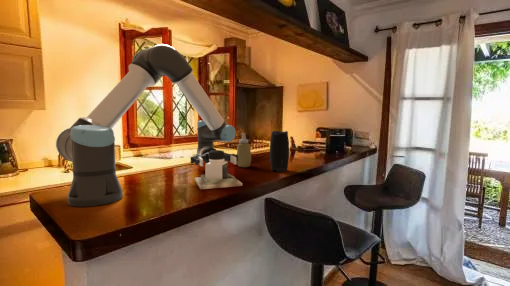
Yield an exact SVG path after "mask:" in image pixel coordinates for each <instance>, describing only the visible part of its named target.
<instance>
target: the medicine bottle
mask: <svg viewBox="0 0 510 286" xmlns="http://www.w3.org/2000/svg"><path fill="white" fill-rule="evenodd" d="M224 153H225V151H224V150H221V149H216V150H213V151H210V152H209V161H210V162H209V163H204V164H205V165H204V166H205V169H204V171H205V174H204V175H206V180H217V179H228V173H229V161H224Z"/></svg>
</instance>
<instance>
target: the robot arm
mask: <svg viewBox="0 0 510 286" xmlns="http://www.w3.org/2000/svg"><path fill="white" fill-rule="evenodd" d="M193 71H194V69H193V68H192V66H191V65H190V63H189V62H188V60H187V59H186V58H185V57H184V56H183V54H182V53H180V52H179V51H178V50H177V49H176V48H174V47H173V46H170V45H169V44H164V43H161V44H156V45H154V46H152V47H148V48H143V49H141V50H139V51H138V52H136V53H135V54H134V56H133V57H132V61H131V62H130V64H128V72H127V73H126V74H125V76H124V77H122V79H121V80H120V81H118V83H117V84H116V85H115V86H114V87H113V88H112V89H111V91H110V92H108V93H107V95H106V96H105V97H104V98H103V99H102V100H101V101H100V102H99V103H98V104H97V105H96V107H95V108H93V110H92V111H91V112H90V113H89V114H88V115H87V116H84V117H78V119H77V120H76V121H75V122H74V123H73V124H72V125H71V126H70V127H69V128H66V129H64V130H63V131H61V132H60V133H59V135H58V136H57V138H56V140H55V141H56V142H55V147H56V150H57V152H58V154H59V155H60V156H61V158H64V159H65V160H67V161H68V162H71V164H72V165H71V166H72V181H71V184H70V187H69V190H68V193H67V204H68V205H69V206H71V207H76V208H77V207H78V208H79V207H80V208H82V207H85V208H86V207H87V208H88V207H96V206H102V205H107V204H108V205H109V204H111V203H114V202H118V201H119V200H122V199H123V197H124V194H123V188H122V185H121V182H120V181H119V178H118V176H117V170H116V169H117V168H116V148H115V147H116V143H115V141H116V138H115V133H114V129H113V128H114V127H115V125H116V124H117V123H118V122H119V121H120V119H121V118H122V117H123V116H124V115H125V114H126V112H128V110H129V109H130V108H131V107H132V105H134V104H135V102H136V101H137V99H138V98H139V97H140V96H141V95H142V94H143V93H144V92H145V90H146V89H147V88H148V87H151V88H152V87H154V86H155V85H156V84H157V83H158V81H159V80H160V79H161V78H163V77H166V78H168V79H169V80H170V81H171V83H172V84H175V85H177V87H178V88H179V89H180V91H181V92H182V93H183V95H184V97H186V99H187V100H188V102H189V103H190V104H191V106H192V107H193V108H194V110H195V111H196V112H197V114H198V116H199V117H200V118H201V119H202V120H198V122H197V128H196V129H197V149H196V153H195V155H192V156H190V164H195V166H200V167H204V164H207V163H209V162H210V161H209V152H210V151H213V150H217V149H216V148H215V147H214V141H215V142H224V143H226V142H229V143H230V142H232V141H233V140H234V139H235V138H236V135H237V134H236V128H235V126H233V125H230V124H227V122H226V121H225V120H224V118H223V116H222V115H221V114H220V113H219V111H218V109H217V108H216V106H215V105H214V104H213V102H212V101H211V99H210V98H209V95H208V94H207V93H206V91H205V90H204V89H203V87H202V85H201V84H200V83H199V81H198V79H197V78H196V77H195V75H194V73H193ZM224 161H225V162H230V163H231V164H233V165H237V161H238V155H237V154H235V153H227V152H224Z"/></svg>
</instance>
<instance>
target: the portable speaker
mask: <svg viewBox="0 0 510 286" xmlns="http://www.w3.org/2000/svg"><path fill="white" fill-rule="evenodd" d="M288 134H289V132H288V130H285V131H282V130H281V131H280V130H272V131H271V134H270V135H271V136H270V140H269V141H270V142H269V161H270V168H271V171H276V172H277V173H284V172H285V173H286V171H288V168H289V159H290V140H289V135H288Z"/></svg>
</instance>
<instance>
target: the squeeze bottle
mask: <svg viewBox="0 0 510 286" xmlns="http://www.w3.org/2000/svg"><path fill="white" fill-rule="evenodd" d="M238 142H239V143H237V149H236V155H238V161H236V164H237V166H238V167H239V168H249V167H250V166H251V162H252V151H251V144H250V143H249V140H248V139H247V135H246V132H242V136H241V139H239V141H238Z"/></svg>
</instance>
